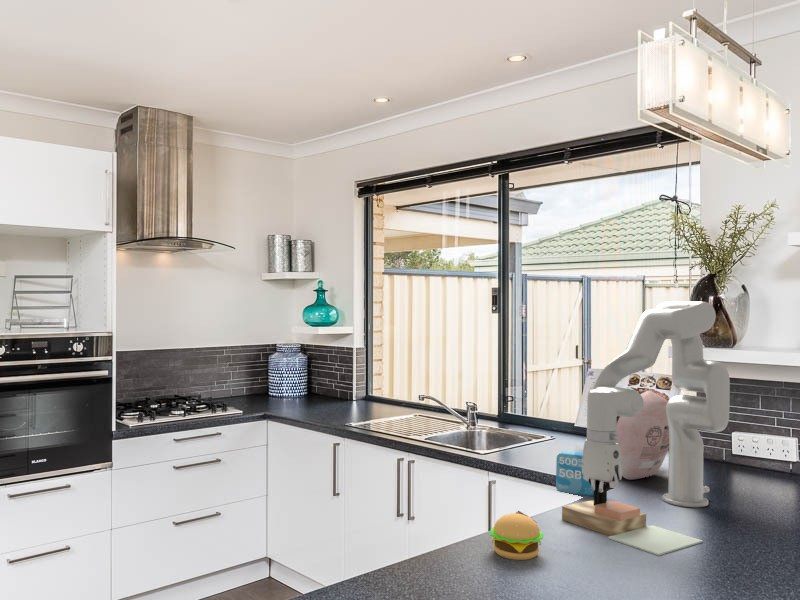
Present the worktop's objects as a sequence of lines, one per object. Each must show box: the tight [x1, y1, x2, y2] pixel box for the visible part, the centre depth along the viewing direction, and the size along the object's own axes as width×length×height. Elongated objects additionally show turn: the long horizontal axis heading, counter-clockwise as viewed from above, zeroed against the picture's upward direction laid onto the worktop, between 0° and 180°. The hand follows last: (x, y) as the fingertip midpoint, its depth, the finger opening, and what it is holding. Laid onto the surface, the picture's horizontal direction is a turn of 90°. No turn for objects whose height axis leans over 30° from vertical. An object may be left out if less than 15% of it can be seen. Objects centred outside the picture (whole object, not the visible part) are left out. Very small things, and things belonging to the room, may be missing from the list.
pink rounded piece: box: [616, 390, 669, 481], centre depth 233 cm, size 22×20×30 cm
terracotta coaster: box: [594, 500, 641, 521], centre depth 177 cm, size 8×8×2 cm
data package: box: [555, 450, 594, 497], centre depth 212 cm, size 12×4×12 cm, turn 65°
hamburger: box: [489, 512, 544, 561], centre depth 157 cm, size 12×12×9 cm
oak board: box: [561, 499, 647, 537], centre depth 181 cm, size 14×16×4 cm
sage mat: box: [607, 524, 704, 557], centre depth 168 cm, size 18×14×1 cm
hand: (599, 505), depth 182 cm, fingers closed
